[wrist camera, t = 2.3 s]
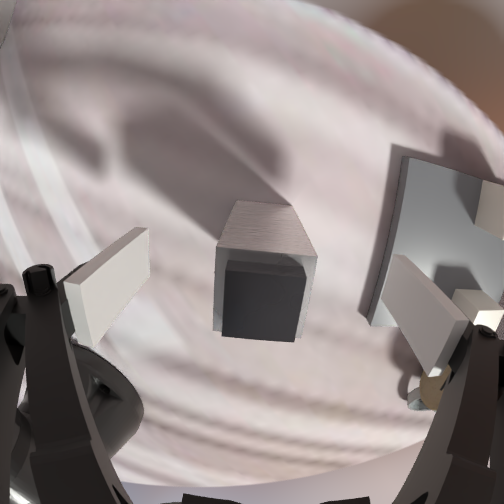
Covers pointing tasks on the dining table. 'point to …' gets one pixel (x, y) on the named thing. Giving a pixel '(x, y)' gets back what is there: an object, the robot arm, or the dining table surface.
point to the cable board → (448, 239)
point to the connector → (263, 273)
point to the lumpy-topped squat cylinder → (5, 17)
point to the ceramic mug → (428, 392)
